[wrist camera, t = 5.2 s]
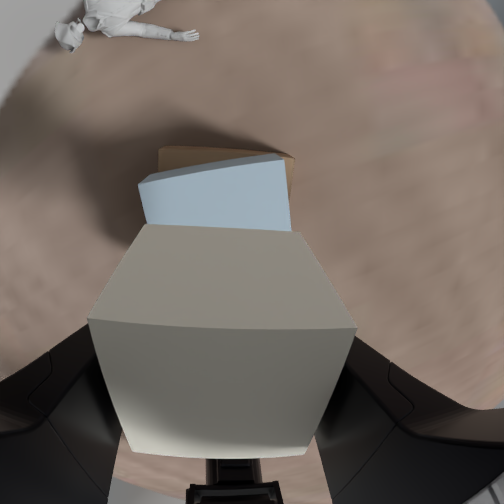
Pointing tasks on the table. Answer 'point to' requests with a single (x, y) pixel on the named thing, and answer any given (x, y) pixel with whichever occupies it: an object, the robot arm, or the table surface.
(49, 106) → the table surface
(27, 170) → the table surface
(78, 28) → the soldier figure
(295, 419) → the cube
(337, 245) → the table surface
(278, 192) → the tower mid
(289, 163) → the tower base
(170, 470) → the table surface
